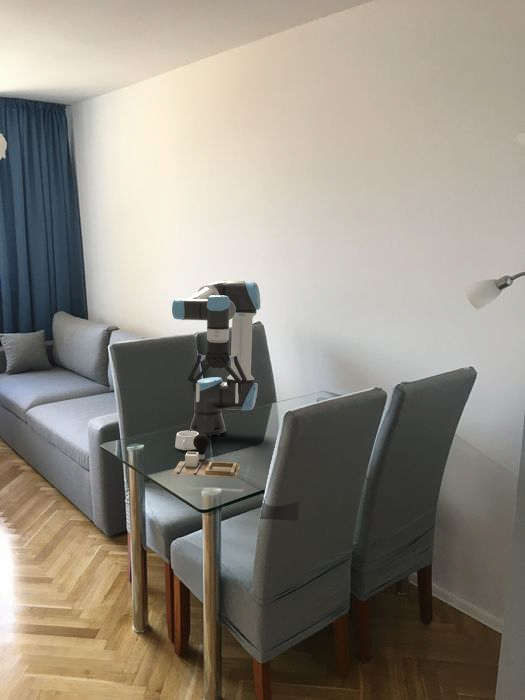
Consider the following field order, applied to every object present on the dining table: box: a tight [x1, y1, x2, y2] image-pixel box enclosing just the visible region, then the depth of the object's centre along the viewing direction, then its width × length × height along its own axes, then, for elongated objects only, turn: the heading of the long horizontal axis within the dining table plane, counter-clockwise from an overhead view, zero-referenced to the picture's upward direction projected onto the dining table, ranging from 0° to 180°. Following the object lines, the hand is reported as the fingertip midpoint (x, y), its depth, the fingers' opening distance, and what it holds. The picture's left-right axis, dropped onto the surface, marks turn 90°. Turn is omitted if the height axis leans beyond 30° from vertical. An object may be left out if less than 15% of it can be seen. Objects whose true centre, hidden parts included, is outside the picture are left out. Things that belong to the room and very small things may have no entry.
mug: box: [174, 430, 199, 451], centre depth 231 cm, size 12×10×6 cm
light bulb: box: [193, 434, 210, 461], centre depth 217 cm, size 6×6×10 cm
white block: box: [184, 451, 200, 467], centre depth 210 cm, size 4×4×5 cm
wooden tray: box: [170, 460, 241, 478], centre depth 207 cm, size 14×22×2 cm, turn 86°
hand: (217, 401), depth 206 cm, fingers open, 13 cm apart
